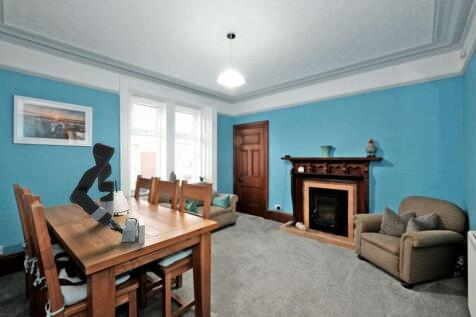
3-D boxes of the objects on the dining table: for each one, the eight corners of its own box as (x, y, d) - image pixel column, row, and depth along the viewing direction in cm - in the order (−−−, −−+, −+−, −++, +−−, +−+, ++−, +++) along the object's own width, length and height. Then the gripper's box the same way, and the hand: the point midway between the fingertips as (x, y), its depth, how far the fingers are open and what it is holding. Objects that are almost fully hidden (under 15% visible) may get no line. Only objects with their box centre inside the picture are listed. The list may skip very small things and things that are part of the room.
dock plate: (139, 243, 129) (139, 225, 128) (137, 233, 144) (137, 217, 144) (144, 242, 130) (144, 225, 130) (142, 233, 146) (142, 217, 146)
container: (122, 237, 136) (125, 216, 136) (135, 237, 139) (138, 217, 139) (121, 241, 129) (124, 220, 129) (134, 241, 132) (137, 220, 132)
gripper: (106, 213, 122) (129, 231, 128) (107, 208, 134) (128, 225, 139) (94, 223, 119) (119, 241, 125) (97, 217, 131) (119, 234, 137)
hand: (124, 233), depth 132 cm, fingers closed
